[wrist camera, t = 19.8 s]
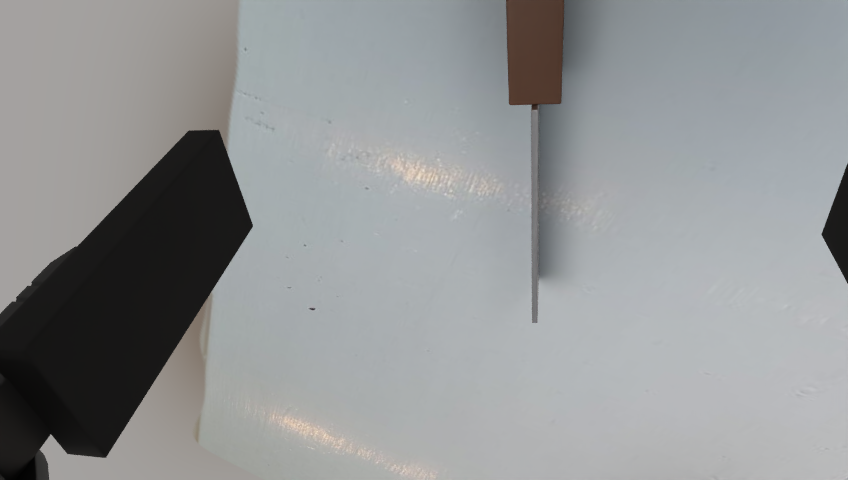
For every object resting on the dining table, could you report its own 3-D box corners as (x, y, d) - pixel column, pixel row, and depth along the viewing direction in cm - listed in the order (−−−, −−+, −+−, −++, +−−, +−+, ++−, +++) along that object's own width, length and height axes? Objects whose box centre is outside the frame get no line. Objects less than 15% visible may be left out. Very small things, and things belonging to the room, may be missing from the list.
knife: (507, -155, 25) (500, -141, 22) (567, -162, 25) (568, -149, 22) (517, 277, 40) (514, 322, 37) (555, 278, 39) (555, 323, 36)
